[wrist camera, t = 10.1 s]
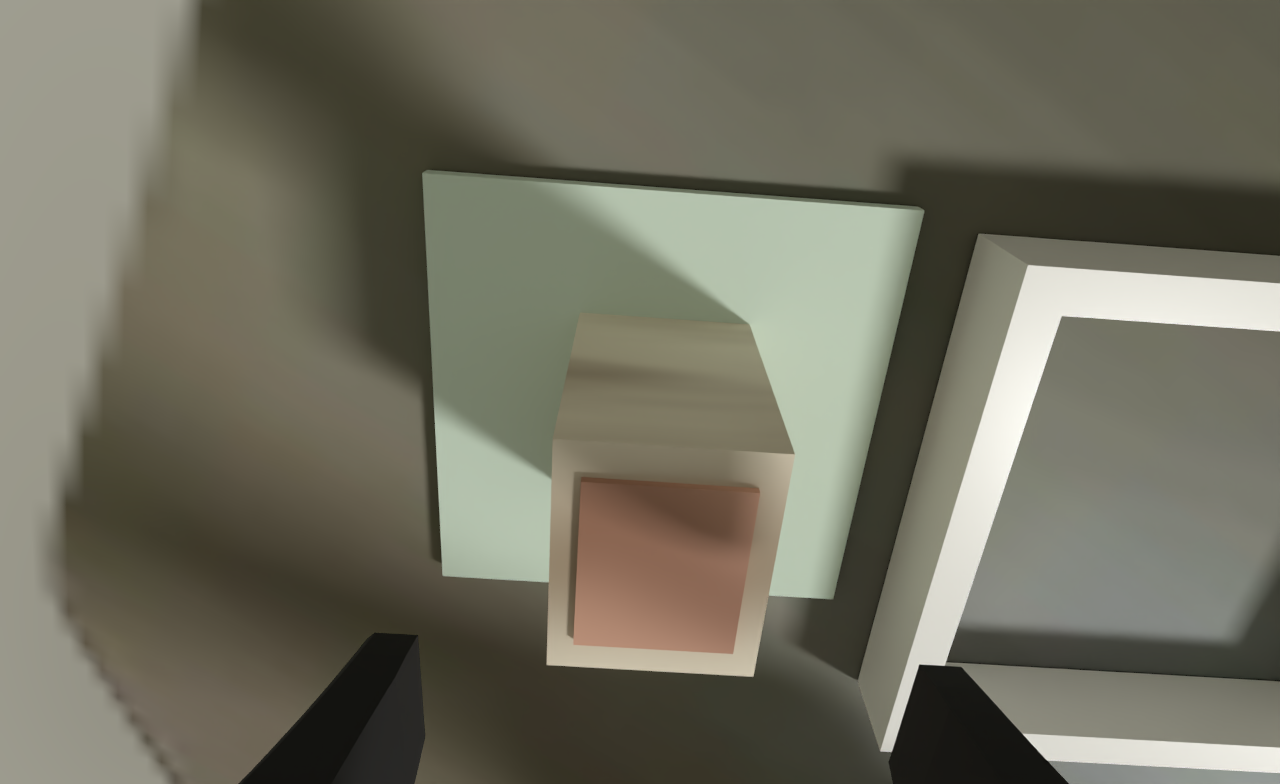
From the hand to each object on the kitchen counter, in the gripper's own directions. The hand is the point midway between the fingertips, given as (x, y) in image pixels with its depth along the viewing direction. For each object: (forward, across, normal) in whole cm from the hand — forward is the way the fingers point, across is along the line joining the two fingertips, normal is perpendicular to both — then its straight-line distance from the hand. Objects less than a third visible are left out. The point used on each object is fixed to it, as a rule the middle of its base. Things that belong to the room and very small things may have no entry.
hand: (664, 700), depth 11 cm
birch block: (+9, 0, 0) cm, 9 cm away
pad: (+9, 0, 0) cm, 9 cm away
